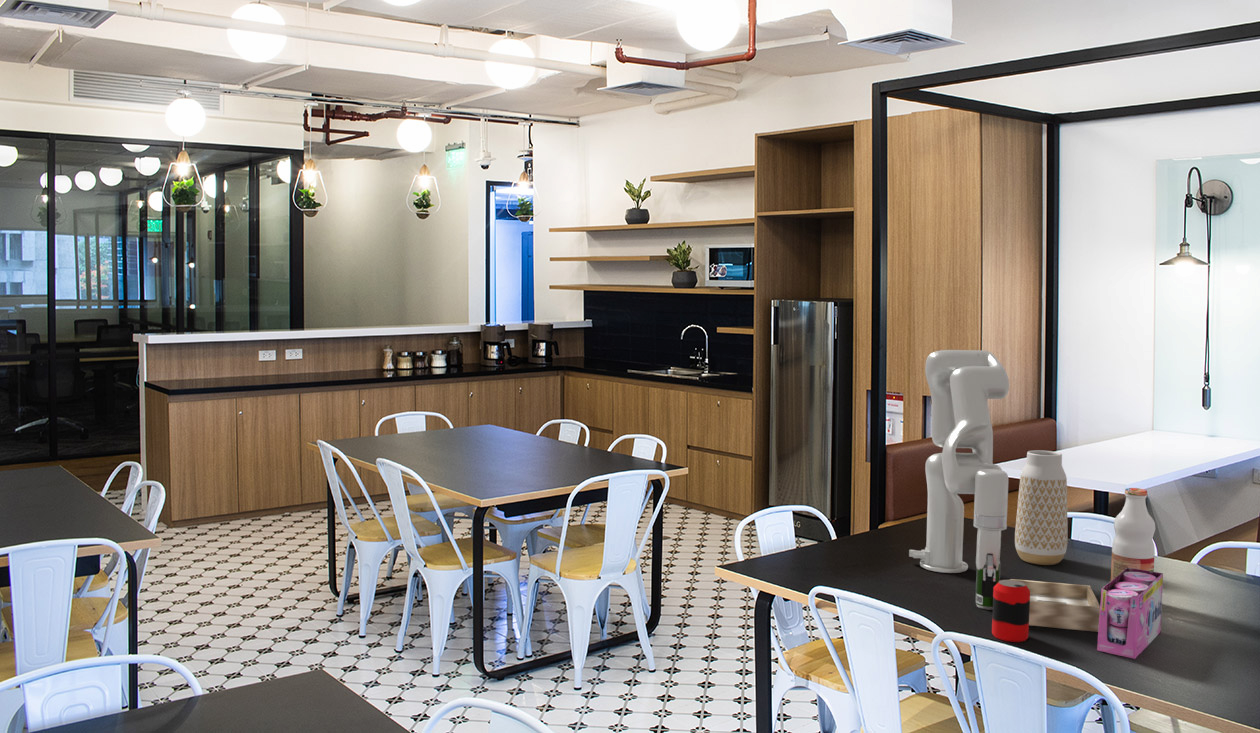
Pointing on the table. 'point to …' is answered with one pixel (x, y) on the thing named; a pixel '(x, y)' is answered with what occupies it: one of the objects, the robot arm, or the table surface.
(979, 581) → the beer can
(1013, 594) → the soda can
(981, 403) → the robot arm
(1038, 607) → the crate
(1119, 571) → the fruit juice
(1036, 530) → the vase
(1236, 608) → the table surface
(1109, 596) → the gum box
